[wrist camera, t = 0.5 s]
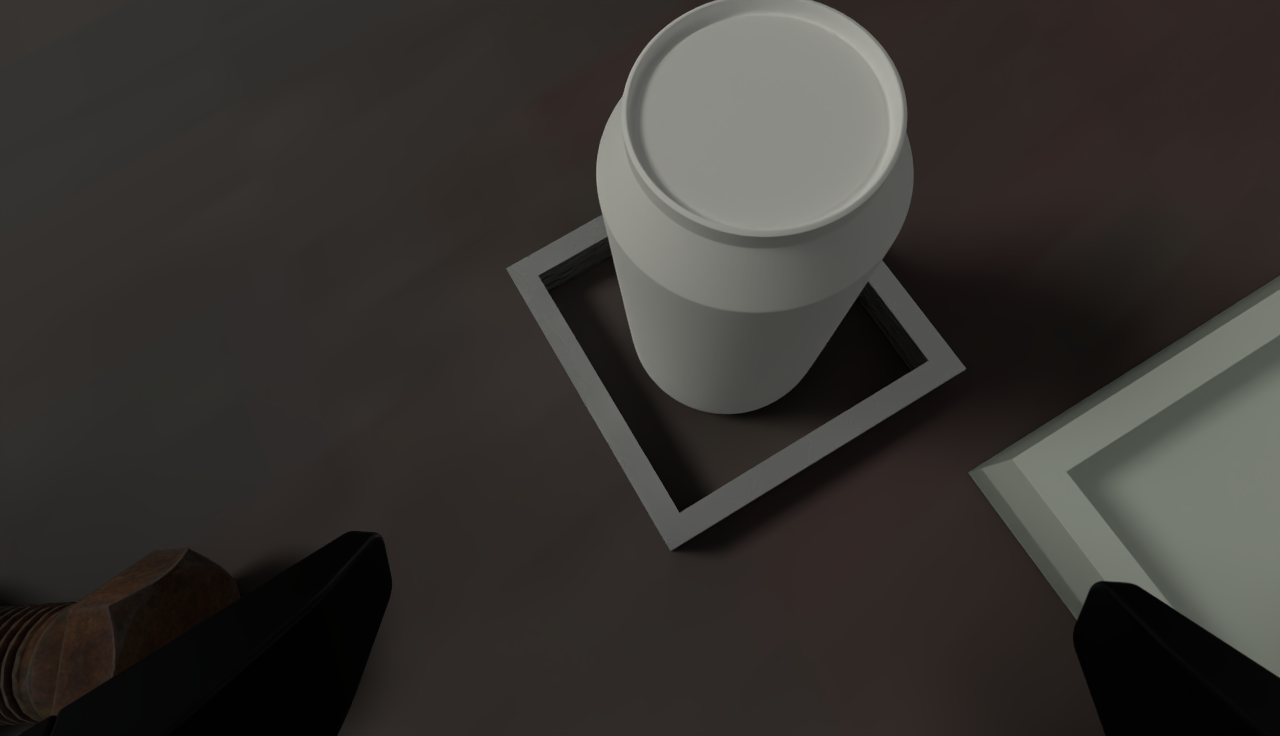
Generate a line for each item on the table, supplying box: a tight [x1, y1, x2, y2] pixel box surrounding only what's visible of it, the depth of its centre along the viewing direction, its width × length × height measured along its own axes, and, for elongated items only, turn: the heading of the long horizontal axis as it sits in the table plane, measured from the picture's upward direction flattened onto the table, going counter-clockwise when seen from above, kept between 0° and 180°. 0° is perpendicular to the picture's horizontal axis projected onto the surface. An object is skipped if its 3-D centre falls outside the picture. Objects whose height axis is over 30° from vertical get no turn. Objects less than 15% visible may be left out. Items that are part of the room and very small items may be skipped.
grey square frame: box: [506, 215, 966, 551], centre depth 22 cm, size 11×11×2 cm
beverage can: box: [596, 0, 913, 414], centre depth 17 cm, size 6×6×12 cm
